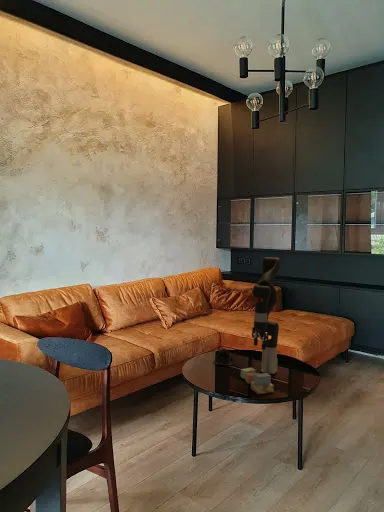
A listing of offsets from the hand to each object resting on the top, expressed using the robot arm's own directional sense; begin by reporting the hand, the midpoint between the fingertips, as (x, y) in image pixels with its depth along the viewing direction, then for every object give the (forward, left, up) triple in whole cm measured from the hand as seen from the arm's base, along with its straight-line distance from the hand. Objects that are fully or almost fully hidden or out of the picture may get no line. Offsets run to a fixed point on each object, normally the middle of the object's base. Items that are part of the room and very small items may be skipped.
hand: (259, 347), depth 226 cm
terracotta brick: (-2, -9, -24) cm, 26 cm away
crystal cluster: (0, -45, -24) cm, 51 cm away
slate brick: (0, +4, -20) cm, 20 cm away
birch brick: (0, +4, -24) cm, 24 cm away
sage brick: (-3, -17, -24) cm, 29 cm away
